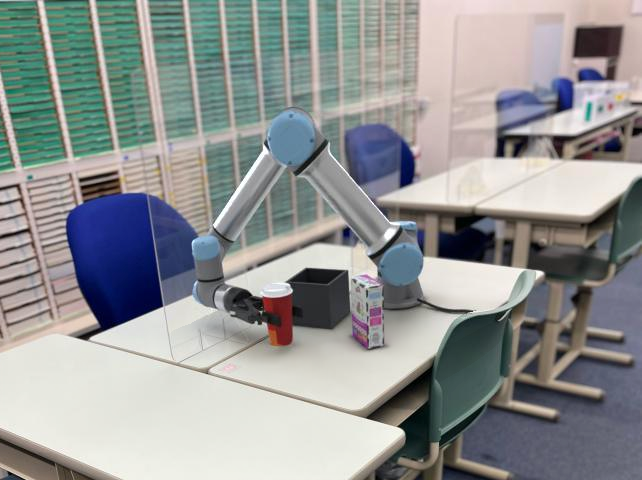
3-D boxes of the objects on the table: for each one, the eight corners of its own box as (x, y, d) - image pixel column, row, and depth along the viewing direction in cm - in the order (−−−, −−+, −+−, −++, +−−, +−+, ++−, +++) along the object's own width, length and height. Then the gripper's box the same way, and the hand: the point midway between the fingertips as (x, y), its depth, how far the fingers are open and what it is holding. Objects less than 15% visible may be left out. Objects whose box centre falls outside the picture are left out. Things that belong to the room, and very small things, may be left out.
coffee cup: (301, 336, 186) (296, 281, 178) (291, 349, 180) (285, 292, 172) (272, 335, 189) (266, 281, 181) (261, 347, 182) (254, 291, 174)
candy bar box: (385, 346, 182) (384, 284, 173) (368, 350, 181) (365, 288, 172) (368, 332, 191) (366, 273, 182) (351, 335, 190) (349, 276, 181)
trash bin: (350, 312, 205) (348, 270, 198) (331, 329, 195) (328, 285, 188) (309, 308, 211) (305, 267, 204) (288, 324, 201) (284, 282, 194)
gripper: (263, 303, 199) (319, 319, 184) (208, 324, 188) (263, 343, 173) (259, 277, 195) (317, 291, 180) (203, 297, 184) (260, 314, 169)
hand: (290, 317), depth 177 cm, fingers closed on coffee cup, 7 cm apart
